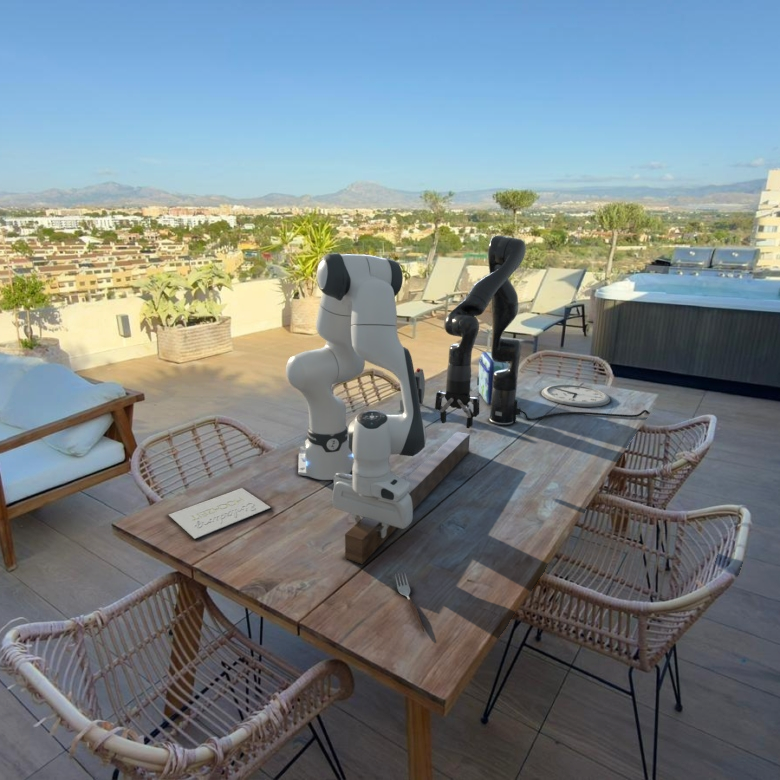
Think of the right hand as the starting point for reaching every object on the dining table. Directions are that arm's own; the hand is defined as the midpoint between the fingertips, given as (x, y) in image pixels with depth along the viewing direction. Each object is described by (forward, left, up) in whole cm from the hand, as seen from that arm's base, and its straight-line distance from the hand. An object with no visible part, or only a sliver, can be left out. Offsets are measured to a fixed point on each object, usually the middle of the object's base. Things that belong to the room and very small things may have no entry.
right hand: (455, 425), depth 169 cm
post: (+19, +21, -12) cm, 30 cm away
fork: (+34, +64, -12) cm, 74 cm away
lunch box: (-39, -55, -12) cm, 69 cm away
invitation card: (+73, +18, -12) cm, 76 cm away
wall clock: (-79, -52, -12) cm, 95 cm away
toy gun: (-1, -52, -12) cm, 53 cm away
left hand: (+37, +41, -9) cm, 56 cm away
